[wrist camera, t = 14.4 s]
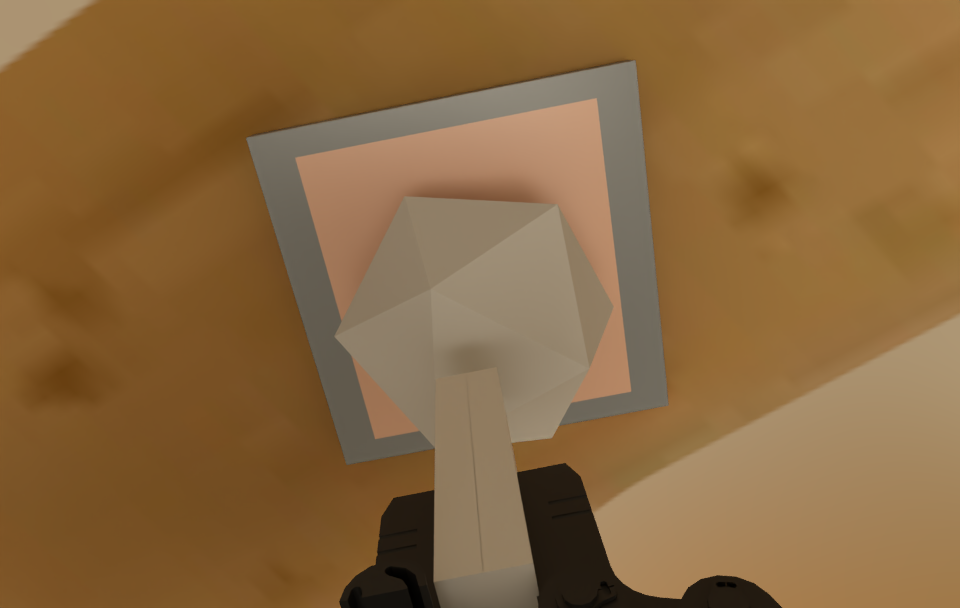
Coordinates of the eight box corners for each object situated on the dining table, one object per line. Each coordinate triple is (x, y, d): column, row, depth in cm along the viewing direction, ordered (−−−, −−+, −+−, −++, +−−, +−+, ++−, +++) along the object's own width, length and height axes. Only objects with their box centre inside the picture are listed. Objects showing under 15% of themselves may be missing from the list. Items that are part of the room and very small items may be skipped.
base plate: (350, 451, 29) (346, 465, 28) (253, 134, 24) (245, 137, 23) (661, 394, 29) (668, 405, 28) (628, 59, 24) (635, 60, 23)
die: (364, 161, 25) (245, 381, 19) (578, 101, 20) (503, 366, 15) (469, 298, 30) (399, 501, 24) (657, 275, 25) (623, 518, 20)
